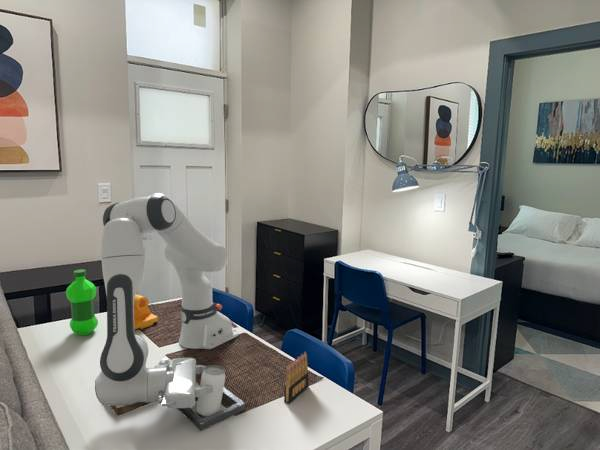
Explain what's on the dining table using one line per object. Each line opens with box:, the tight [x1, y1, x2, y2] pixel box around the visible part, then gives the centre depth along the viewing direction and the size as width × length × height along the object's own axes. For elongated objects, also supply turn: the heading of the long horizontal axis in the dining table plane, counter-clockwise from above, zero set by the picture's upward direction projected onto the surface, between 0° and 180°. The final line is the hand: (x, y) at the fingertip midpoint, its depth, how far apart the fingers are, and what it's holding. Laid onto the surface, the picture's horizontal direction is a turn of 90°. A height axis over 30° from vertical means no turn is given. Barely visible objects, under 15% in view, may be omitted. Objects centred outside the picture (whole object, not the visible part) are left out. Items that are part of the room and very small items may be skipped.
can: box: [195, 365, 226, 418], centre depth 118 cm, size 6×6×12 cm
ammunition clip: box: [283, 351, 309, 404], centre depth 127 cm, size 11×2×12 cm, turn 147°
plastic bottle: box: [65, 268, 99, 336], centre depth 165 cm, size 10×10×25 cm
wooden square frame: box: [109, 402, 154, 417], centre depth 124 cm, size 12×12×2 cm
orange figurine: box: [134, 294, 159, 330], centre depth 175 cm, size 11×7×12 cm, turn 143°
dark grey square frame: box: [176, 387, 246, 432], centre depth 121 cm, size 14×14×2 cm
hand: (212, 378), depth 119 cm, fingers open, 8 cm apart
